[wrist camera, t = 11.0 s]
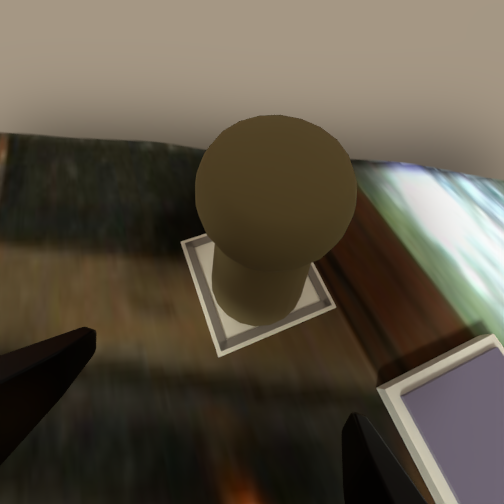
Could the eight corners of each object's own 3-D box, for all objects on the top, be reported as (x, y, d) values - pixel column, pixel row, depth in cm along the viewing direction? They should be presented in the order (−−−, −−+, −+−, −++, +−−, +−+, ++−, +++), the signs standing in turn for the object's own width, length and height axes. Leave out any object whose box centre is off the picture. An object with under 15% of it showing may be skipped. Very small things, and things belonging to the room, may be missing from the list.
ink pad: (465, 560, 13) (488, 580, 11) (376, 387, 15) (387, 390, 14) (579, 478, 14) (611, 489, 13) (479, 335, 17) (498, 333, 16)
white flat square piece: (218, 357, 16) (218, 357, 15) (181, 243, 18) (180, 241, 18) (334, 308, 17) (337, 306, 17) (284, 209, 20) (284, 206, 19)
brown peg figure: (203, 248, 18) (156, 97, 8) (286, 230, 19) (340, 73, 9) (222, 337, 16) (189, 285, 6) (315, 312, 16) (435, 227, 6)
